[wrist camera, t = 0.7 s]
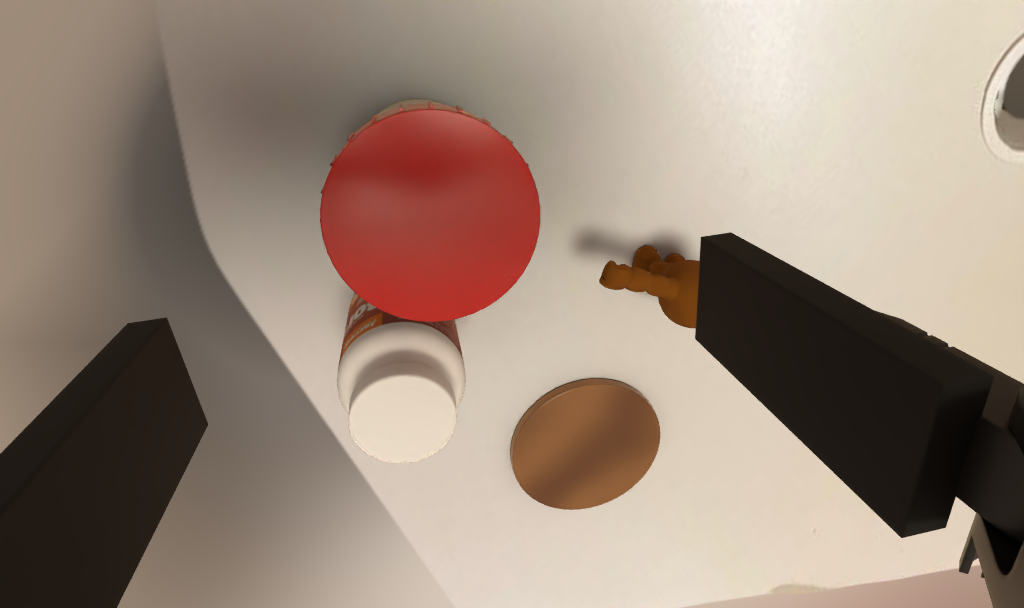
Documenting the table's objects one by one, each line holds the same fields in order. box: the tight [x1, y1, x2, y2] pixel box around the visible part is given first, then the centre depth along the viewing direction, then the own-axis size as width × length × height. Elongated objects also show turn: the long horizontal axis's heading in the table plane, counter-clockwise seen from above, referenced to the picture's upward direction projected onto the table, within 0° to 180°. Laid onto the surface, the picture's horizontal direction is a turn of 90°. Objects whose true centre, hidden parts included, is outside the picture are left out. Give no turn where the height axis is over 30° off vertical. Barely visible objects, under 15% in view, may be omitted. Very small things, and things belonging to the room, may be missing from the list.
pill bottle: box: [337, 294, 465, 463], centre depth 29 cm, size 6×6×11 cm
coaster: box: [510, 379, 660, 510], centre depth 41 cm, size 11×11×1 cm
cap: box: [320, 101, 540, 322], centre depth 22 cm, size 8×8×2 cm
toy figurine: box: [599, 246, 700, 328], centre depth 33 cm, size 12×4×7 cm, turn 71°
